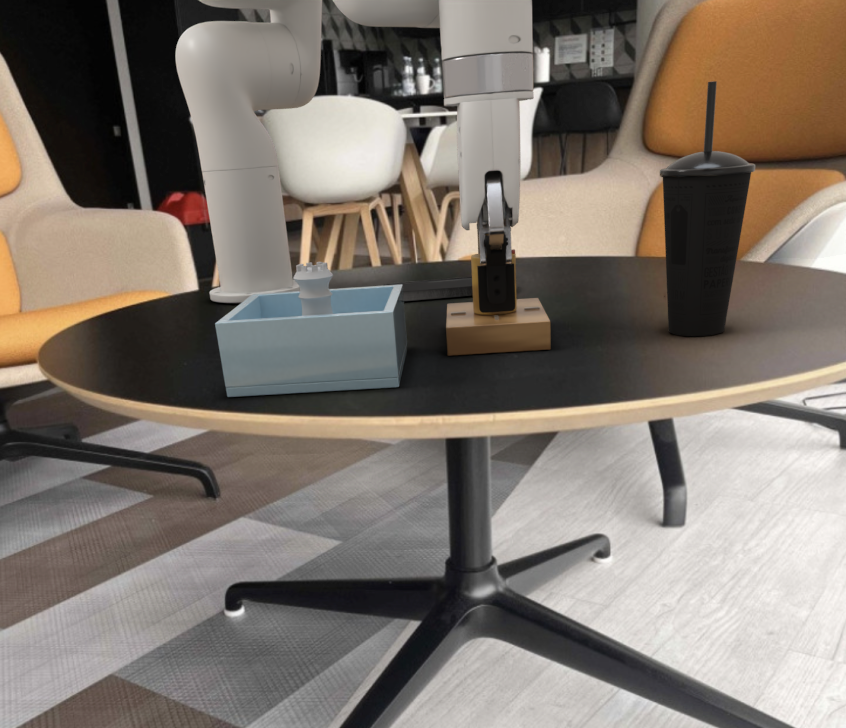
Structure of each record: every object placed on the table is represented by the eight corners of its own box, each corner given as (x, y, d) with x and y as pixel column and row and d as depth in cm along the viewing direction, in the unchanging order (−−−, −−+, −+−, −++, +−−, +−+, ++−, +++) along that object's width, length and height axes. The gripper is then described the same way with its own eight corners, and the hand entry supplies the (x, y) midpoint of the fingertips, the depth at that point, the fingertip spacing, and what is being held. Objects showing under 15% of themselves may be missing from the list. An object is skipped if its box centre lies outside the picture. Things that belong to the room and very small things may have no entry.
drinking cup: (746, 338, 75) (769, 75, 66) (654, 341, 76) (665, 83, 68) (736, 321, 81) (755, 79, 73) (651, 323, 83) (661, 87, 75)
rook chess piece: (323, 353, 77) (312, 259, 74) (360, 358, 74) (350, 261, 71) (285, 365, 74) (272, 267, 70) (322, 370, 71) (310, 269, 68)
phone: (511, 282, 104) (385, 292, 103) (511, 292, 104) (386, 302, 103) (500, 273, 111) (382, 283, 110) (500, 283, 111) (383, 292, 110)
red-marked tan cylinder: (473, 316, 79) (470, 255, 77) (473, 308, 82) (470, 250, 80) (517, 313, 79) (516, 252, 76) (515, 305, 82) (514, 247, 80)
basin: (261, 358, 81) (252, 294, 78) (407, 349, 80) (402, 284, 78) (227, 397, 69) (214, 323, 66) (399, 387, 68) (392, 311, 65)
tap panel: (448, 328, 87) (446, 301, 86) (538, 323, 87) (538, 295, 86) (447, 356, 76) (445, 325, 75) (550, 349, 76) (550, 318, 75)
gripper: (444, 92, 81) (455, 294, 88) (441, 80, 65) (455, 326, 73) (525, 85, 80) (529, 289, 88) (542, 72, 65) (545, 320, 72)
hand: (496, 304), depth 80 cm, fingers open, 4 cm apart
